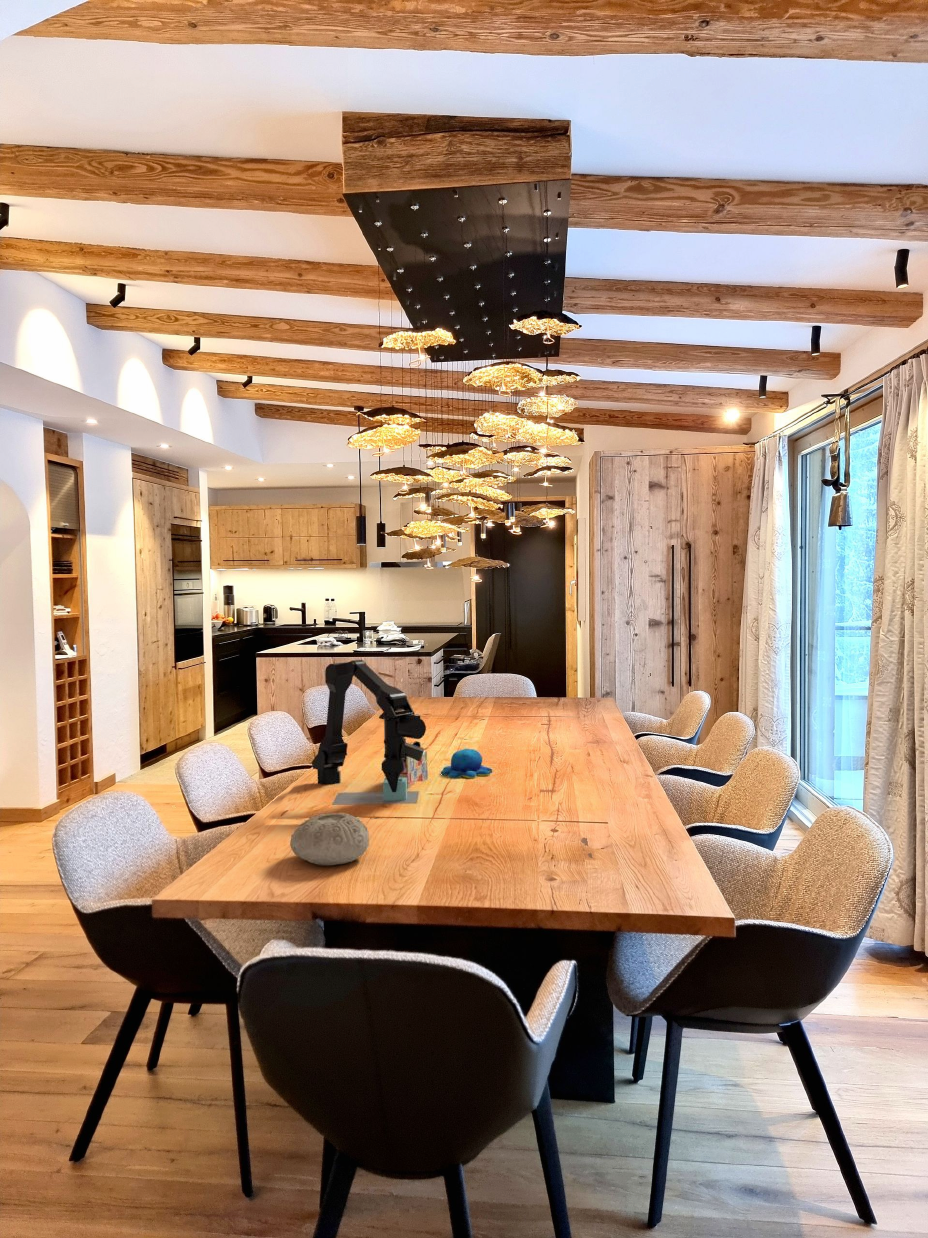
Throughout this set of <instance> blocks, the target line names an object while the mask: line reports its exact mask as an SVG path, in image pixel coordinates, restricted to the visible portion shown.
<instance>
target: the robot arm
mask: <svg viewBox="0 0 928 1238" xmlns="http://www.w3.org/2000/svg"><path fill="white" fill-rule="evenodd" d="M324 676H325V677H324V679H325V684H326V687H327V688H328V690H329V691H328V692H329V693H328V703H327V704H328V705H327V717H326V726H325V735H324V737H323V738H322V740H321V741H320V743H319V745H318V751H317V753H316V754H315V757H314V758H313V759H312V761H311V765H312V766H311V767H312V769H313V770H317V785H324V786H325V785H334V784H335V785H336V784H342V783H341V781H342V777H341V776H342V774H341V770H339V769H340V767H343V766H344V763H345V759H346V756H347V755H348V750H347V749H348V743H347V742H345V741H344V739H343V735H342V734H343V726H344V725H343V724H344V716H345V715H344V713H345V706H346V705H345V704H346V693H347V692H348V691H347V690H349V688H350V687H351V685H352V683H353V678H354V677H355V678H356V679H357V680H358V681H359V682H360V683H362V685H364V687H365V688H366V689H367V690H368V691H370V693H372V694H373V696H374V697H375V699H376V700H375V701H376V704H377V706H378V707H379V708H380V709H381V711H382V713H381V714H380V715H379V716H378V718H379V720H383V724H384V725H383V726H384V727H383V728H384V730H383V736H384V737H383V738H384V740H383V744H384V754H383V758H384V759H383V760H382V761H381V771H382V773H383V774H384V778H386V779H387V781H388V783H389V785H390V788H391V790H392V792H396V791H397V784H398V778H399V777H400V774H401V773H402V772H403V771H404V764H405V763H406V760H403V759H402V758H405V759H407V757H410V758H413V759H415V760H417V761H421V758H422V755H423V752H424V751H425V748H424V747H423V746H421V742H420V741H418V740H420V739H422V738H423V737H424V735H426V731H427V726H426V722H425V721H424V720H423V719H422V718H421V714H419V713H417V714H415V711H414V709H413V707H412V705H411V703H410V701H409V700H408V696H407V695H406V693H405V692H404V691H402V690H400V689H399V688H397V687H395V686H392V685H389V684H388V683H386V682H385V681H384V679H382V678H381V677H380V676H379V675H378V674H377V673H376V672H375V671H374V670H373V669H372V668H371V667H369V666H368V663H367V662H366V661H365V660H363V659H354V660H350V661H347V662H345V661H344V662H335V663H330V664H328V665H326V668H325V670H324ZM406 738H409V739H414V740H415V739H416V740H415V741H413V743H412V742H411V743H409V742H407V739H406Z"/></svg>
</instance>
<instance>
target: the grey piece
mask: <svg viewBox="0 0 928 1238" xmlns="http://www.w3.org/2000/svg"><path fill="white" fill-rule="evenodd" d="M419 793H420V791H419V790H417V791H415V790H412V791H410V790H407V798H406V800H383V791H365V792H363V791H361V792H359V791H358V792H355V791H354V792H338V793H337V795H336V797H335V798H334V799H333V802H332V804H331V806H337V805H338V806H342V805H344V806H345V805H347V806H348V805H349V806H351V805H391V804H392V805H397V804H398V805H399V804H418V800H419V799H418V798H419Z"/></svg>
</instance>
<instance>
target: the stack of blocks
mask: <svg viewBox="0 0 928 1238" xmlns="http://www.w3.org/2000/svg"><path fill="white" fill-rule="evenodd" d="M427 755H428V750H424V752H423V755H422V758H421V761H417V760H415V759H413V758H410V757H407V759H405V758H402V759H403V760H406V763H405V764H404V771H403V772H402V773H401V774H400V777H399V778H407V790H409V789H410V788H411V787H413V786H414V785H415V784H416V783H418V782H425V781H426V780H427V779H428V758H427V757H428V756H427Z"/></svg>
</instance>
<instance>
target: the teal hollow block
mask: <svg viewBox="0 0 928 1238" xmlns="http://www.w3.org/2000/svg"><path fill="white" fill-rule="evenodd" d="M407 791H408V789H407V778H398V784H397V791H396V792H392V790H391V788H390V785H389V783H388V781H387V779H386V777H384V778H383V782H382V792H383V800H406V798H407Z"/></svg>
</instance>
